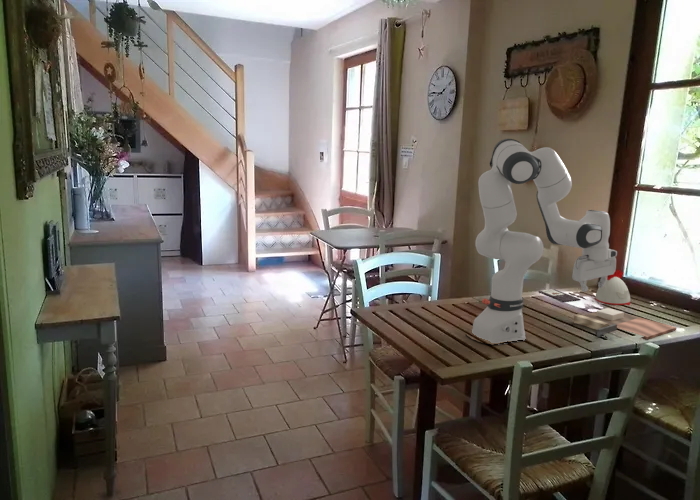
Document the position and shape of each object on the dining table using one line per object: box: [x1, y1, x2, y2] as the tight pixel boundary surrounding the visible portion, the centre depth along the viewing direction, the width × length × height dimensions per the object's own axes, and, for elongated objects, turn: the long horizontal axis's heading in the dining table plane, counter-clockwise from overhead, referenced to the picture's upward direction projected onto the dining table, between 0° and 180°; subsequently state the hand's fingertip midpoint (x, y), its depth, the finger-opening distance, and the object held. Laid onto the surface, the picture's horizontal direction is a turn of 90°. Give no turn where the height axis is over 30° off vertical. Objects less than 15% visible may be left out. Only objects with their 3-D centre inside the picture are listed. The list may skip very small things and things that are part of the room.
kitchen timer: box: [594, 269, 631, 306], centre depth 230 cm, size 14×14×15 cm
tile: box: [596, 307, 625, 321], centre depth 209 cm, size 7×7×2 cm
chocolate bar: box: [538, 288, 581, 303], centre depth 243 cm, size 9×1×18 cm
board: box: [583, 311, 677, 340], centre depth 204 cm, size 18×28×1 cm, turn 29°
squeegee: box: [573, 313, 618, 338], centre depth 199 cm, size 14×10×4 cm
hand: (593, 289), depth 197 cm, fingers open, 8 cm apart
